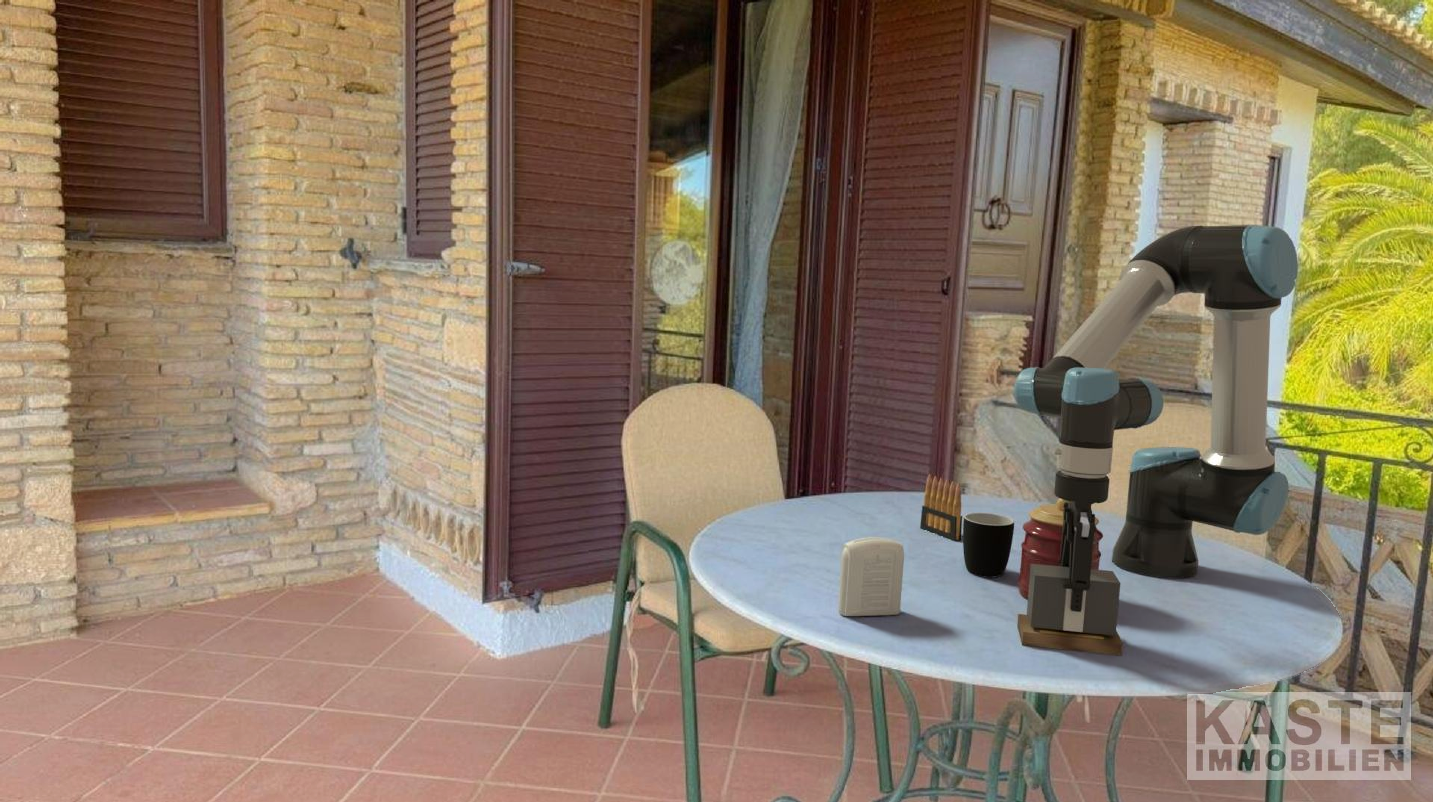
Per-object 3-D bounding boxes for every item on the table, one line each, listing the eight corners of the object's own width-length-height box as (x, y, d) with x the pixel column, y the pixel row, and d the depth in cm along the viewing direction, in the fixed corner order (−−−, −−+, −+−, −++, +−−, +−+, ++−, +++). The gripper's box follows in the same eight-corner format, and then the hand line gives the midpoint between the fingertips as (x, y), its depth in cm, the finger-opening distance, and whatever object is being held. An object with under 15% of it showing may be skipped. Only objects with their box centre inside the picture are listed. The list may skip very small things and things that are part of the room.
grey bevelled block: (1108, 621, 153) (1112, 571, 152) (1115, 635, 147) (1120, 583, 146) (1026, 613, 155) (1030, 563, 154) (1030, 627, 149) (1034, 575, 148)
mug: (1019, 578, 181) (1024, 524, 179) (975, 581, 179) (979, 525, 177) (985, 559, 192) (989, 507, 191) (943, 561, 190) (947, 509, 189)
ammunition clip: (961, 540, 205) (965, 483, 203) (954, 541, 204) (958, 484, 202) (926, 527, 214) (930, 472, 213) (919, 528, 213) (923, 473, 212)
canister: (1008, 583, 178) (1016, 486, 176) (1082, 586, 178) (1090, 489, 175) (1029, 608, 165) (1037, 504, 163) (1108, 612, 165) (1118, 507, 162)
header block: (1111, 636, 154) (1115, 595, 153) (1121, 655, 146) (1125, 613, 145) (1017, 626, 156) (1020, 586, 156) (1022, 644, 149) (1025, 602, 148)
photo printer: (893, 607, 163) (898, 533, 162) (904, 616, 159) (909, 541, 157) (833, 609, 161) (838, 535, 159) (843, 619, 157) (847, 542, 155)
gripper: (1048, 458, 158) (1036, 599, 161) (1065, 484, 139) (1051, 642, 142) (1098, 462, 156) (1085, 604, 159) (1122, 488, 138) (1106, 648, 141)
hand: (1069, 622), depth 151 cm, fingers closed on grey bevelled block, 6 cm apart
